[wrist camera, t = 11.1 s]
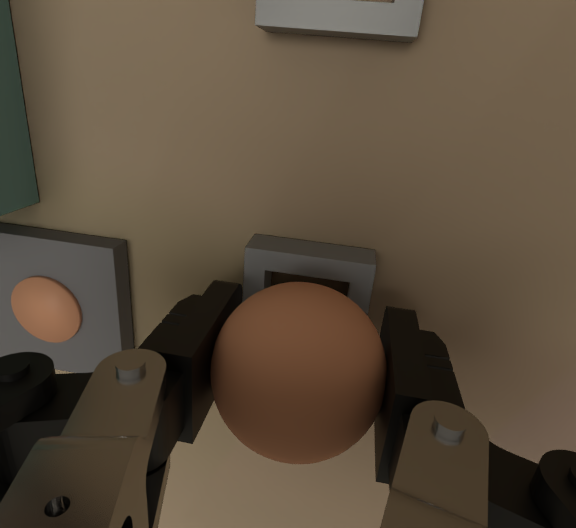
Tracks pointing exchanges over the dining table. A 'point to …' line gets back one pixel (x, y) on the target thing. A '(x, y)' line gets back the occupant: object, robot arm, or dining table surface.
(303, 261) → the frame
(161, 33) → the dining table surface
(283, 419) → the ball
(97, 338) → the card
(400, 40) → the frame
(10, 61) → the teal open box
